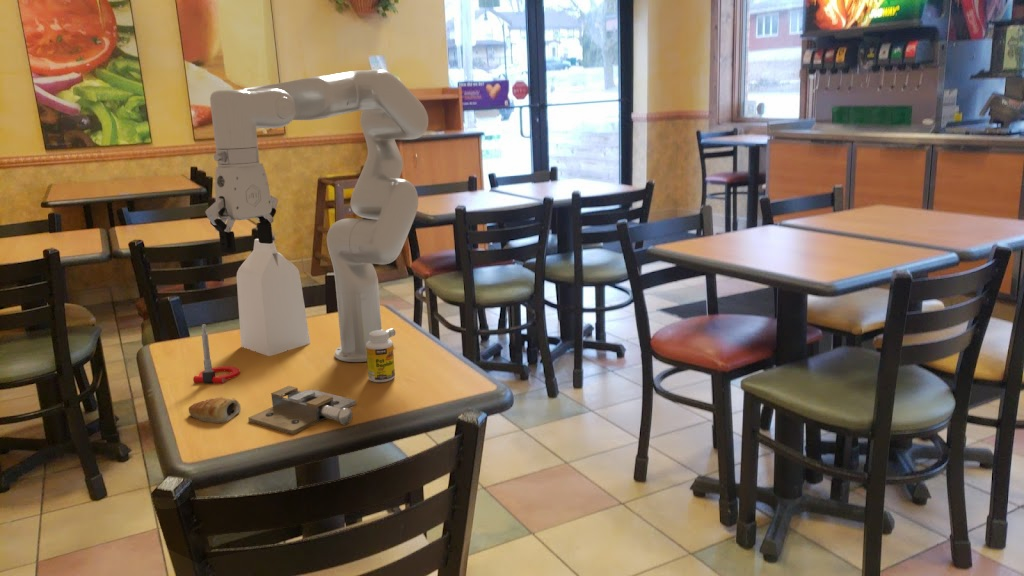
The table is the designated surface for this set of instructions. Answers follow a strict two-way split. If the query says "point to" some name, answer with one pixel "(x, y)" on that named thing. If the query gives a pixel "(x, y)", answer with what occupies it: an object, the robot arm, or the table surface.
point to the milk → (270, 302)
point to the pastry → (215, 410)
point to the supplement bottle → (380, 356)
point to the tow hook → (209, 372)
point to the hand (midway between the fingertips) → (247, 247)
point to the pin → (334, 413)
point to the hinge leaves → (297, 409)
